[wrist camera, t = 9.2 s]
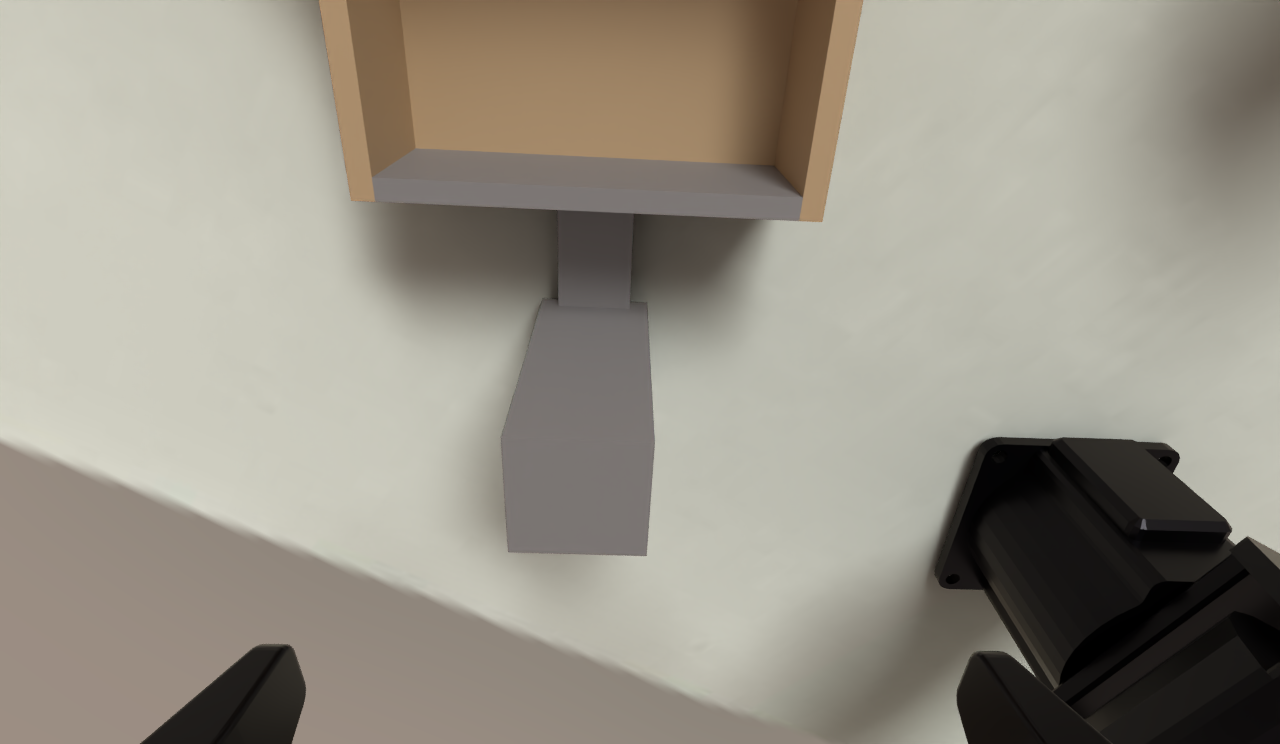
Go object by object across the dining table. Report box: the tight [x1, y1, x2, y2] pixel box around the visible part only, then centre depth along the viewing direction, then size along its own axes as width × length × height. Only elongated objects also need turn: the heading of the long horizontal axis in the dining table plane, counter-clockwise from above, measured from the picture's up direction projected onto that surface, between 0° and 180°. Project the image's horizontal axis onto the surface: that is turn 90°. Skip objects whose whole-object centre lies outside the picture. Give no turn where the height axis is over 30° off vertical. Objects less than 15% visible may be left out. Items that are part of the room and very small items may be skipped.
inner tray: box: [319, 0, 863, 556], centre depth 13 cm, size 20×10×7 cm, turn 177°
